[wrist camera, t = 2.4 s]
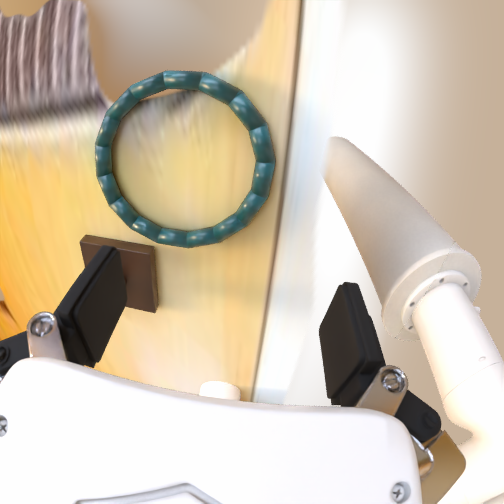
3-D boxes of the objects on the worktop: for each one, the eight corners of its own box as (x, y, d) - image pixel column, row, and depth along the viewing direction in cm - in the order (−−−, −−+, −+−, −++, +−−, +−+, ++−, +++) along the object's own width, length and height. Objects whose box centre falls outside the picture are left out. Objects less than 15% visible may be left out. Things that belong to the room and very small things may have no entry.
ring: (290, 83, 19) (291, 83, 18) (256, 252, 29) (255, 262, 27) (103, 73, 18) (93, 74, 17) (106, 229, 28) (100, 236, 27)
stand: (154, 246, 29) (128, 293, 23) (158, 304, 34) (140, 351, 28) (85, 234, 28) (51, 274, 22) (98, 291, 33) (74, 332, 27)
